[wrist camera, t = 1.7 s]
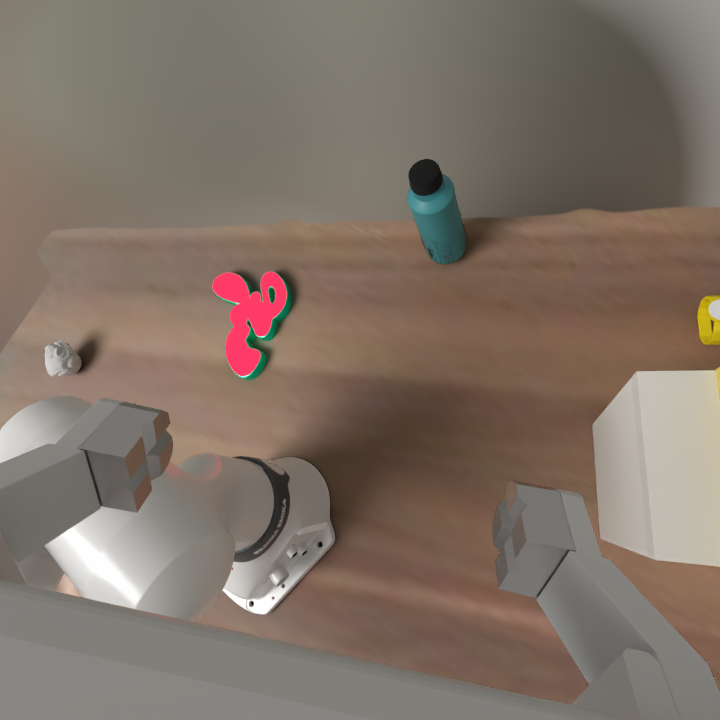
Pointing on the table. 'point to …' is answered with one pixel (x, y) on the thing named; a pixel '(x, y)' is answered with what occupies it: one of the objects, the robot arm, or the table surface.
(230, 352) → the pink curvy flat shape
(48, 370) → the frog figurine
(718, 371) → the mustard bar
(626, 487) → the off-white stand
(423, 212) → the beverage bottle
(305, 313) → the table surface
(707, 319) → the gold ring
